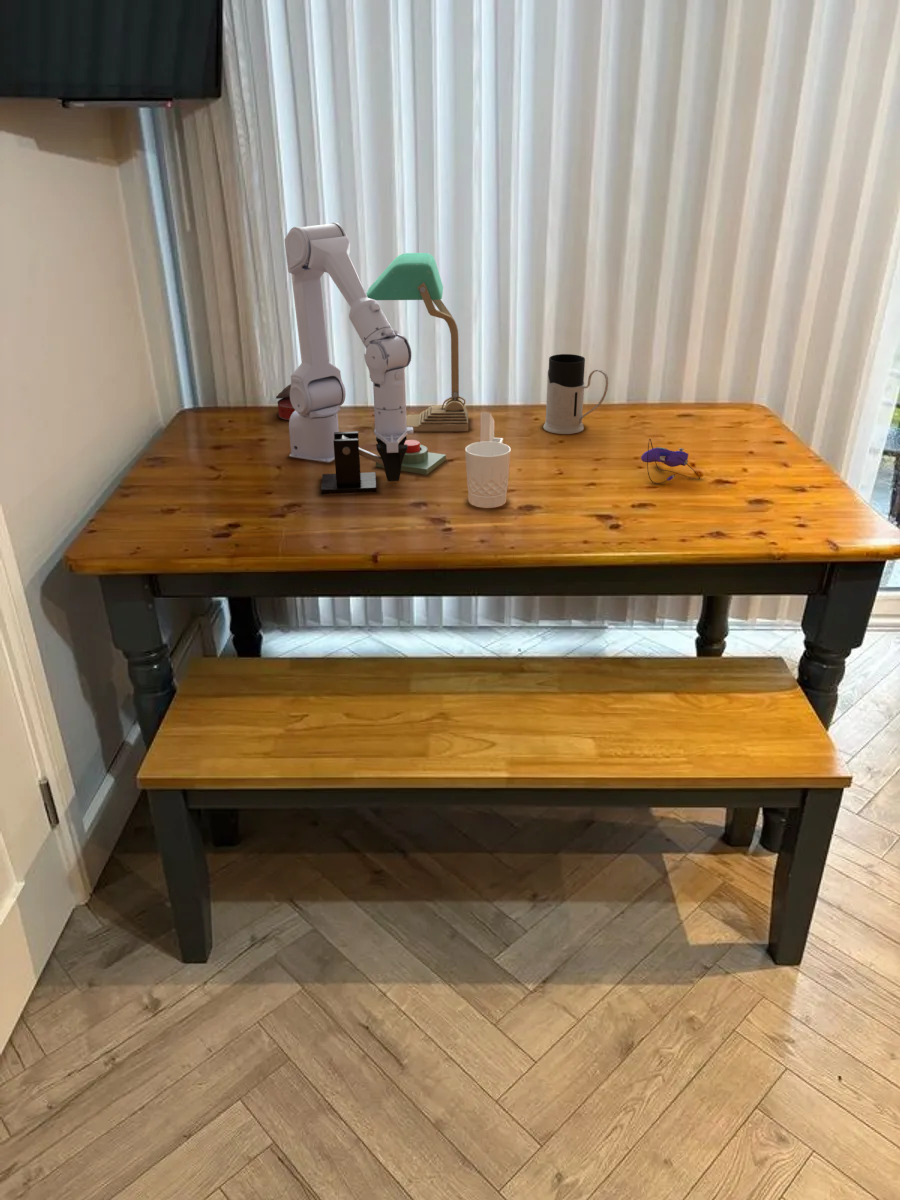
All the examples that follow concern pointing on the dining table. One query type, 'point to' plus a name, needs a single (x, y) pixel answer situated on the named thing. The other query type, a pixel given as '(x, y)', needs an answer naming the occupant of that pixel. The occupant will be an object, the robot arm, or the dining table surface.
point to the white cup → (487, 473)
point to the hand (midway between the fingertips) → (392, 477)
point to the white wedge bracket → (487, 428)
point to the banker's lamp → (422, 282)
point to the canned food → (285, 404)
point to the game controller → (666, 458)
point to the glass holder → (567, 394)
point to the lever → (367, 454)
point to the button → (412, 446)
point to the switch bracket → (347, 468)
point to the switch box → (420, 461)
